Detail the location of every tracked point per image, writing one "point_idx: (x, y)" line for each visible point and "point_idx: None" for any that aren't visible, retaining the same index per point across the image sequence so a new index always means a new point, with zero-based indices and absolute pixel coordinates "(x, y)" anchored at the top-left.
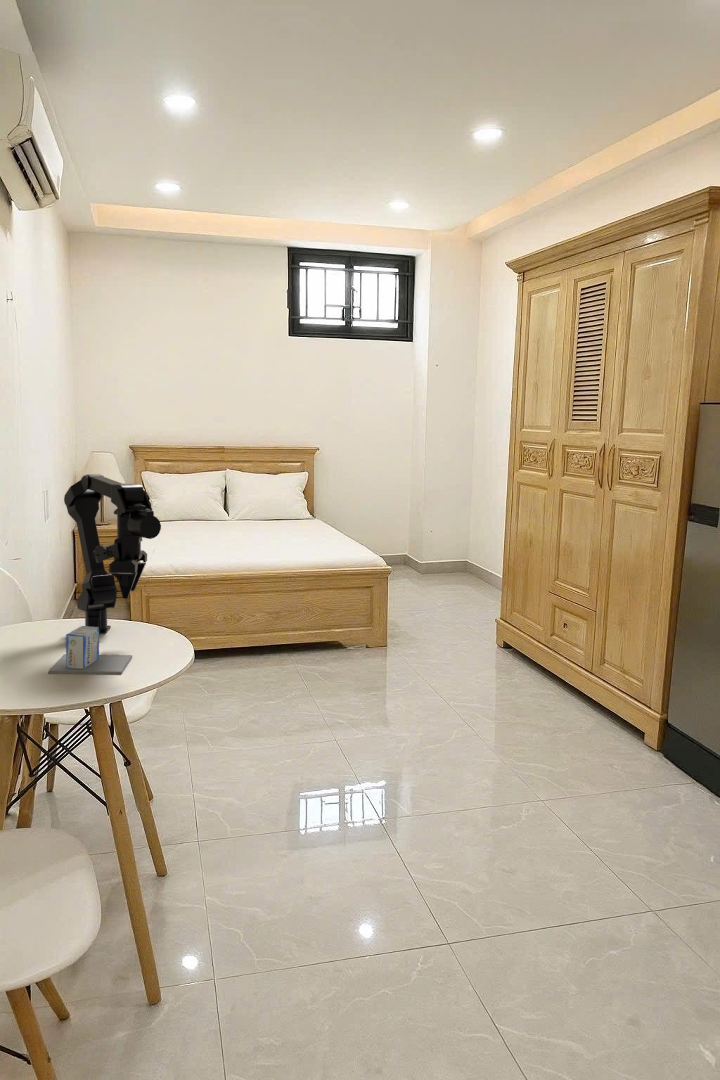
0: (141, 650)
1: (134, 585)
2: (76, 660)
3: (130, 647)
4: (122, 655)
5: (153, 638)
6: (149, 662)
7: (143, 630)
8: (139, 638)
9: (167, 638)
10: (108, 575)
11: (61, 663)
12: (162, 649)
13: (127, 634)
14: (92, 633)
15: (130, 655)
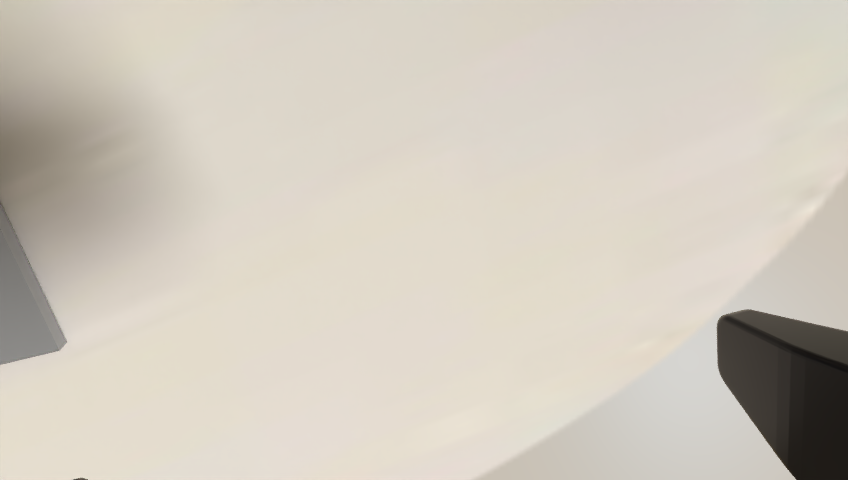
0: (253, 326)
1: (786, 445)
2: None
3: (299, 230)
4: (17, 296)
5: (556, 282)
6: (18, 471)
7: (752, 136)
8: (539, 195)
9: (571, 360)
10: None
11: None
12: (320, 428)
13: (631, 65)
14: None
15: (44, 344)
